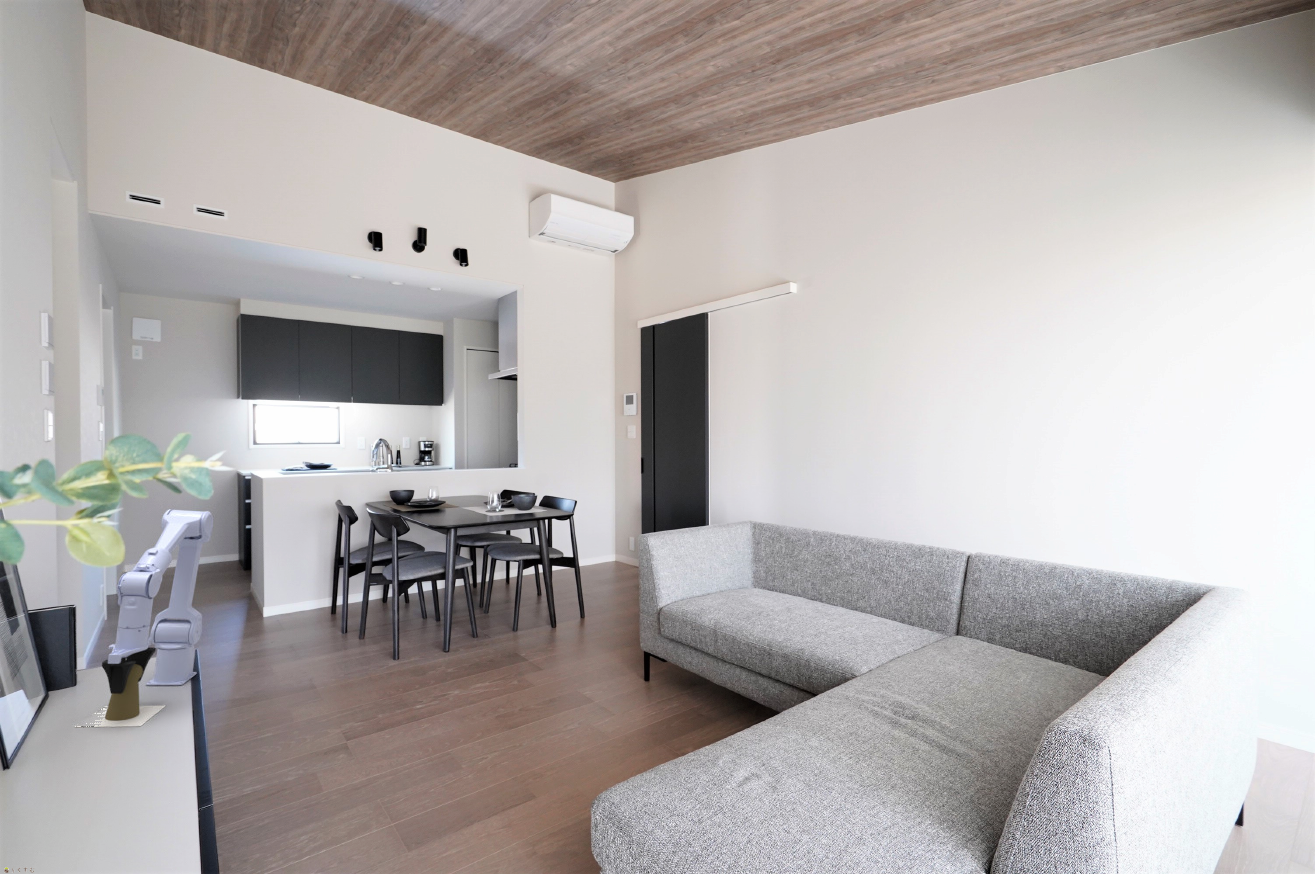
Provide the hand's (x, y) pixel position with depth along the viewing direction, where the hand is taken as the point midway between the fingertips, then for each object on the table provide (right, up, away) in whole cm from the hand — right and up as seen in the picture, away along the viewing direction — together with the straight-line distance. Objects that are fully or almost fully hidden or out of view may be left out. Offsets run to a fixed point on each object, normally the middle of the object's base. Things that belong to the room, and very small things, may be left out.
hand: (125, 687), depth 146 cm
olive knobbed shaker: (-1, -6, 0) cm, 6 cm away
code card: (-1, -6, 0) cm, 6 cm away
